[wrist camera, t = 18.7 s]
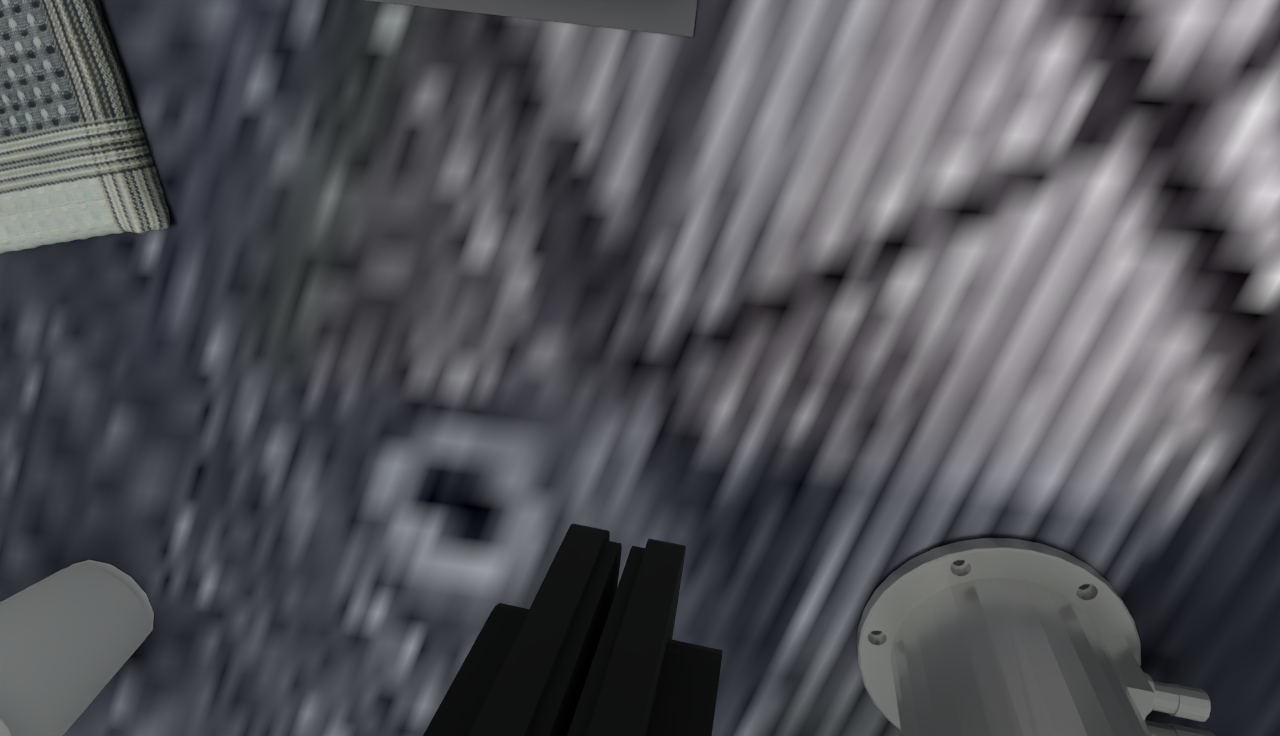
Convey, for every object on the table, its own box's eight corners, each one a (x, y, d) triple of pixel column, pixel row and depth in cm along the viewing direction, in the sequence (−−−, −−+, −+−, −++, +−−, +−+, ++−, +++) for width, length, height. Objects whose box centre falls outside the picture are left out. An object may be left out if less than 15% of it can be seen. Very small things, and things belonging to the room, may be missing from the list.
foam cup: (125, 524, 47) (-102, 684, 35) (204, 650, 50) (17, 839, 38) (11, 555, 50) (-235, 714, 38) (91, 673, 53) (-116, 856, 41)
